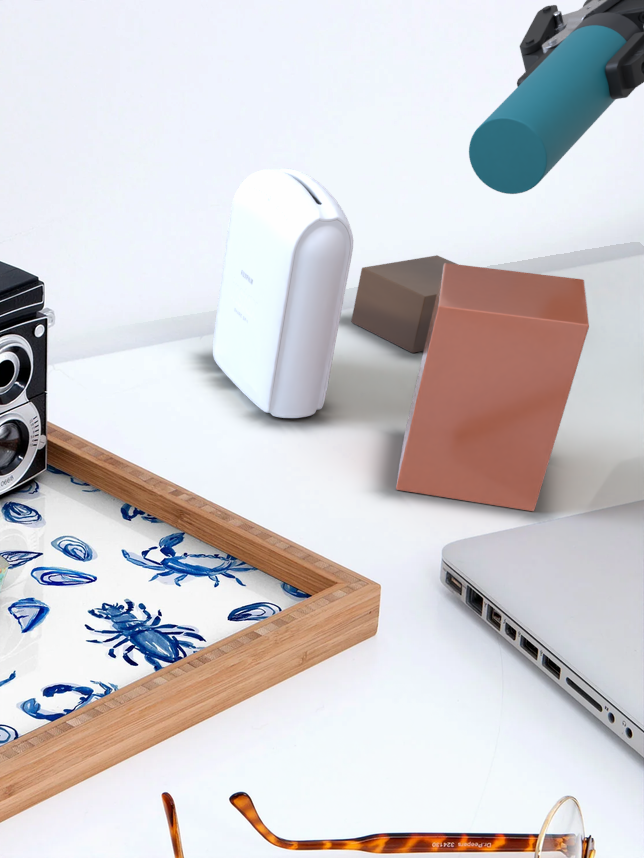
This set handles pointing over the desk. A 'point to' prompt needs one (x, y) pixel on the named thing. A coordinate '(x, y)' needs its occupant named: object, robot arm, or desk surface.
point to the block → (399, 300)
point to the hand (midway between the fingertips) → (570, 89)
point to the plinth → (493, 385)
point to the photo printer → (282, 291)
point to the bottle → (550, 107)
